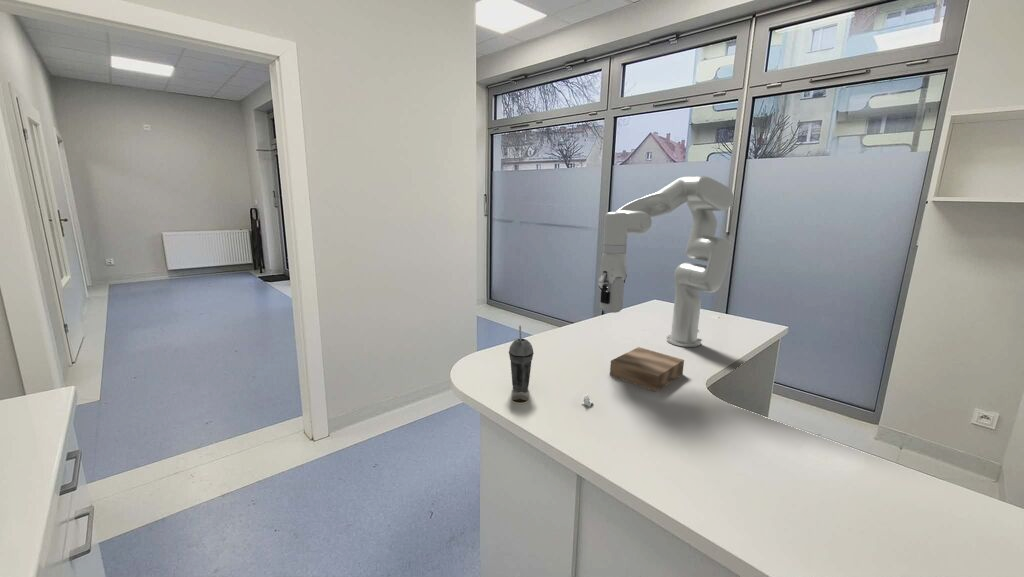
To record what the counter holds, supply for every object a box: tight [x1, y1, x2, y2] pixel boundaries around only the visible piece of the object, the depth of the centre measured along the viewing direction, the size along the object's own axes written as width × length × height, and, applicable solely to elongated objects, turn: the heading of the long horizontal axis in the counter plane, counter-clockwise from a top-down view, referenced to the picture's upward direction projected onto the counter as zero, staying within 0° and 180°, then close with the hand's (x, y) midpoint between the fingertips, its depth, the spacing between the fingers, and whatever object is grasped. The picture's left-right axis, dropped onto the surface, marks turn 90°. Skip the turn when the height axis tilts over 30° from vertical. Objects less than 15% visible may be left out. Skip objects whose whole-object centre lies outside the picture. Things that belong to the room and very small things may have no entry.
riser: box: [609, 346, 685, 392], centre depth 136 cm, size 18×16×5 cm
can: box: [599, 277, 625, 314], centre depth 144 cm, size 8×8×12 cm
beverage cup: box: [508, 325, 534, 393], centre depth 123 cm, size 7×7×20 cm
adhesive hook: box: [581, 394, 595, 407], centre depth 116 cm, size 3×3×3 cm
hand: (611, 300), depth 144 cm, fingers closed on can, 7 cm apart
